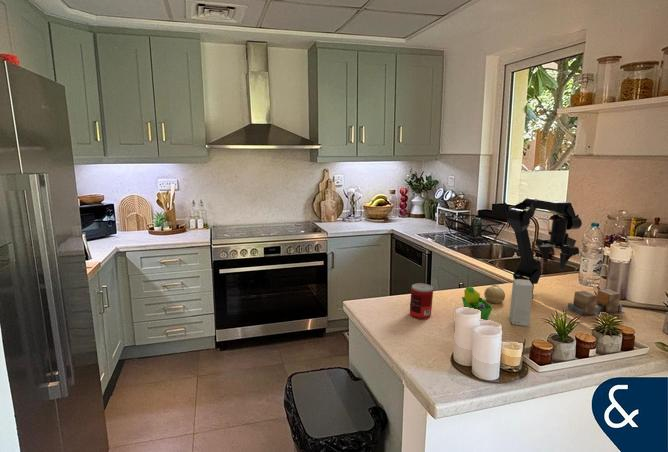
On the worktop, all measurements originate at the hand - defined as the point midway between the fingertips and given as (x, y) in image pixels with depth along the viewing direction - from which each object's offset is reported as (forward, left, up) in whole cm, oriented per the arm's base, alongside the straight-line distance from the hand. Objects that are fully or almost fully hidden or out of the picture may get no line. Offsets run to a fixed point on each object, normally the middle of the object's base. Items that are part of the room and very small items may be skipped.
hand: (553, 265), depth 179 cm
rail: (-2, -24, -12) cm, 27 cm away
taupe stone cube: (+4, -24, -11) cm, 27 cm away
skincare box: (-38, -25, -12) cm, 47 cm away
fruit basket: (-51, -17, -12) cm, 55 cm away
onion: (-34, -6, -12) cm, 37 cm away
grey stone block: (-7, -24, -11) cm, 27 cm away
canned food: (-71, -13, -12) cm, 73 cm away
